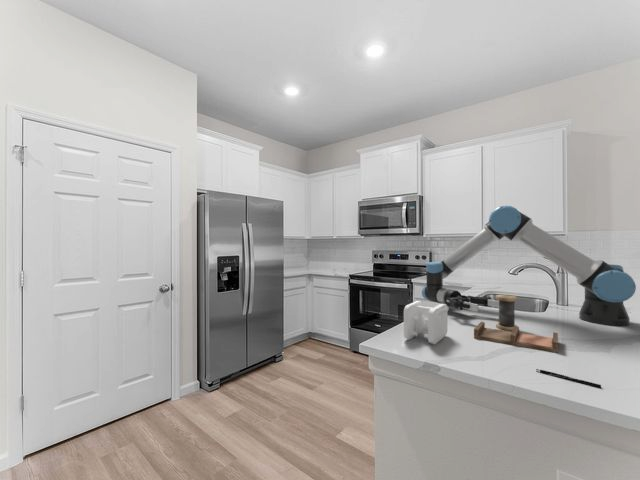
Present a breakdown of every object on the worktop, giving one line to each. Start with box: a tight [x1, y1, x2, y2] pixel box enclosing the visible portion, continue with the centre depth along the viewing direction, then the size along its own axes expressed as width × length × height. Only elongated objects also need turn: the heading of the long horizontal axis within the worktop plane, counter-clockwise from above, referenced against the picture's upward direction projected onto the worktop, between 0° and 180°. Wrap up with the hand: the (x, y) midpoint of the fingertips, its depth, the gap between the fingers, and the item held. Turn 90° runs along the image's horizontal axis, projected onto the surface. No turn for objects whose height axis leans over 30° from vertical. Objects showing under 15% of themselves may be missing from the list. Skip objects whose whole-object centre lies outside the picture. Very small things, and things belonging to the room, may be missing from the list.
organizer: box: [403, 300, 450, 345], centre depth 104 cm, size 15×11×12 cm
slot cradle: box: [473, 321, 559, 354], centre depth 102 cm, size 23×12×3 cm, turn 52°
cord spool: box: [495, 294, 519, 332], centre depth 115 cm, size 7×7×12 cm
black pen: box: [535, 368, 602, 389], centre depth 74 cm, size 12×1×1 cm, turn 43°
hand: (490, 306), depth 121 cm, fingers open, 13 cm apart
